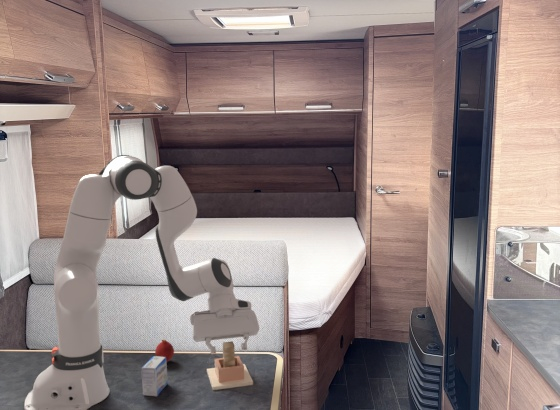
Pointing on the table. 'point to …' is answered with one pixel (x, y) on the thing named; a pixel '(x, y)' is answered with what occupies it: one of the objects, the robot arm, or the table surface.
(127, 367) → the table surface
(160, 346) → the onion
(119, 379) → the table surface
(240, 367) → the stepped square socket
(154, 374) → the medicine box
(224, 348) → the tall tan block
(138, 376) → the table surface
